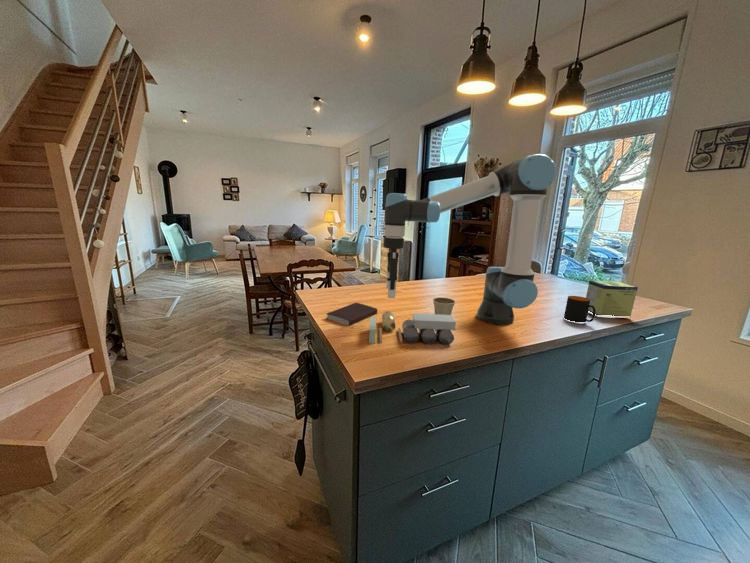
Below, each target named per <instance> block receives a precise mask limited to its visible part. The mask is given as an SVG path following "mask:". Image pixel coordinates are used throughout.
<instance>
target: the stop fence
mask: <svg viewBox="0 0 750 563" xmlns="http://www.w3.org/2000/svg"><path fill="white" fill-rule="evenodd" d="M376 321H377V319H376V317H375V316H371V317H369V338H368V343H369V344H376V329H377V328H376V327H377V323H376Z"/></svg>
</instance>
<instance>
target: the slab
mask: <svg viewBox="0 0 750 563" xmlns="http://www.w3.org/2000/svg"><path fill="white" fill-rule="evenodd" d="M411 320H412V322H413V325H414V328H416V329H417V330H419V329H441V330H451V331H455V330H456V326H457V325H456V323H457V322H456V320H455V318H454V317H453V316H452V314H451V315H438V314H435V313H434V314H432V313H431V314H430V313H412V319H411Z"/></svg>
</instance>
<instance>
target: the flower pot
mask: <svg viewBox="0 0 750 563" xmlns="http://www.w3.org/2000/svg"><path fill="white" fill-rule="evenodd" d="M432 302H433V306H434V309H433V310H434V314H438V315H451V316H452V312H453V308H454V306H455V304H456V300H455V299H452V298H449V297H441V296H440V297H433V298H432Z"/></svg>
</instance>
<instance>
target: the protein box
mask: <svg viewBox="0 0 750 563" xmlns="http://www.w3.org/2000/svg"><path fill="white" fill-rule="evenodd" d="M638 287H639V286H635V285H632V284H629V283H626V282H622V281H610V280H609V281H608V280H607V281H606V280H605V281H604V280H589V281H588V286H587V290H586V295H585V298H588V299H590V304H589V305H592V306H594V308H595V310H596V312H595V314H596V315H612V316H613V315H614V316H630V317H631V316H632V312H633V308H634V305H635V301H636V300H635V299H636V295H637V292H638V289H639V288H638ZM588 311H590V312H592V313H593V308H592V307H589V309H588Z"/></svg>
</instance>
